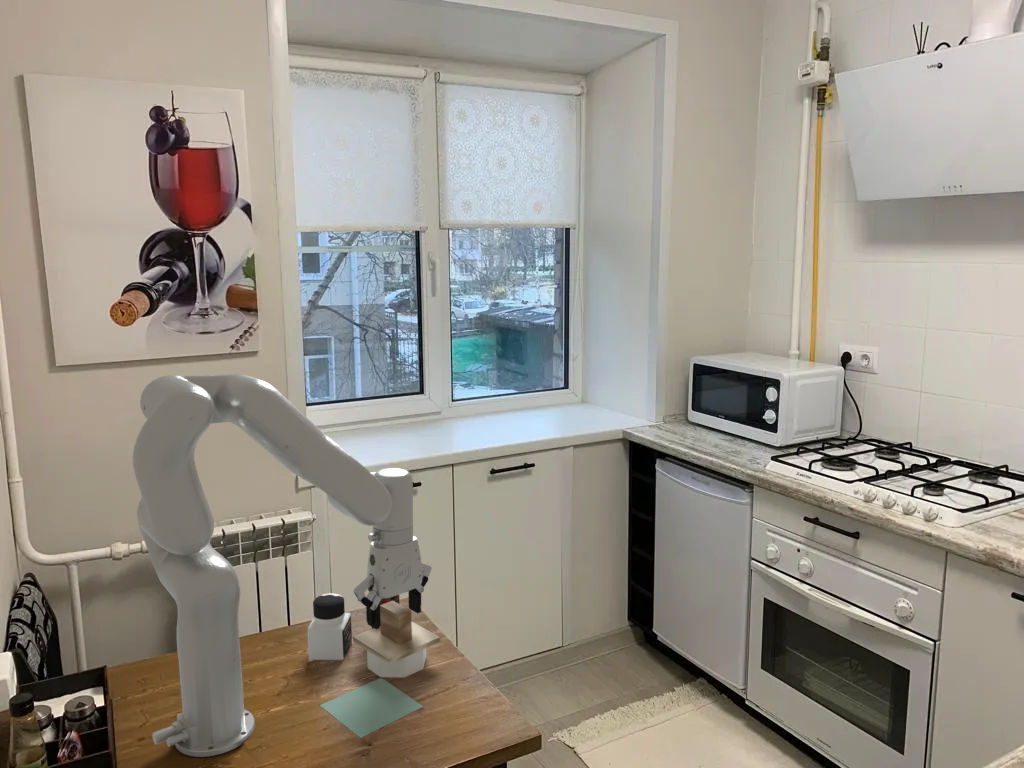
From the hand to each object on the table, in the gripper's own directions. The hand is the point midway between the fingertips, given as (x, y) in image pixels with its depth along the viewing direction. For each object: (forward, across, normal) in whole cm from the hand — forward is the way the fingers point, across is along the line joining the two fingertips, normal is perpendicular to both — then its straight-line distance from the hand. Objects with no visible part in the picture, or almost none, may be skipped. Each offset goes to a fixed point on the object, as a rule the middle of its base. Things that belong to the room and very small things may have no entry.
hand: (394, 618), depth 150 cm
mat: (+10, -12, -9) cm, 18 cm away
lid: (+5, 0, 0) cm, 5 cm away
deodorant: (+10, +6, +11) cm, 16 cm away
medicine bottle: (+10, -6, +13) cm, 18 cm away
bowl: (+10, 0, 0) cm, 10 cm away
